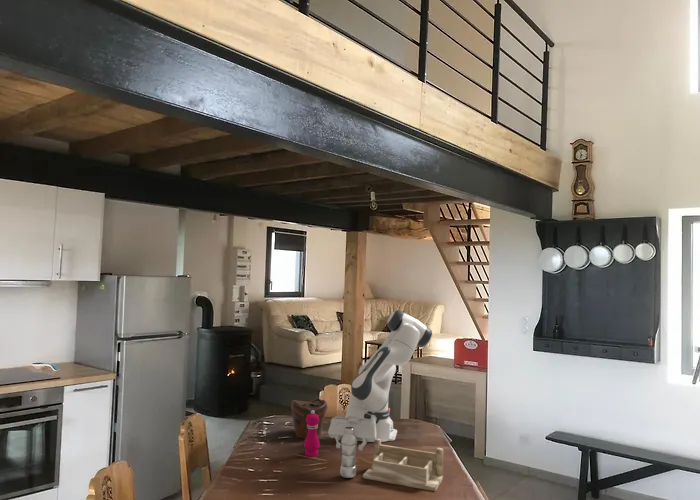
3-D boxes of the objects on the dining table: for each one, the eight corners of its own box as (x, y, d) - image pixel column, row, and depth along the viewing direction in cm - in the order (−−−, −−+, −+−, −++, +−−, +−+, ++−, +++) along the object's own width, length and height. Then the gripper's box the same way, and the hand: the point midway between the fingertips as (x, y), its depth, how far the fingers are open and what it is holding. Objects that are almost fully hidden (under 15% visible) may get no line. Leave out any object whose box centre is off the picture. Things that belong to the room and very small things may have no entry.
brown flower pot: (334, 432, 278) (334, 397, 278) (311, 443, 261) (311, 406, 261) (307, 426, 287) (307, 393, 288) (283, 436, 270) (283, 400, 271)
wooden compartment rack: (374, 466, 233) (375, 438, 233) (443, 477, 222) (443, 448, 222) (363, 478, 220) (363, 448, 220) (435, 491, 208) (435, 460, 209)
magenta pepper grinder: (317, 457, 241) (318, 412, 242) (301, 456, 243) (302, 411, 243) (321, 452, 249) (322, 408, 249) (306, 450, 250) (307, 407, 250)
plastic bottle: (339, 473, 223) (340, 425, 224) (355, 473, 224) (356, 425, 224) (340, 480, 217) (341, 430, 217) (357, 480, 218) (358, 430, 218)
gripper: (330, 412, 231) (323, 442, 221) (377, 416, 225) (371, 447, 216) (333, 419, 235) (326, 449, 225) (379, 424, 229) (374, 455, 220)
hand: (349, 448), depth 220 cm, fingers open, 8 cm apart
